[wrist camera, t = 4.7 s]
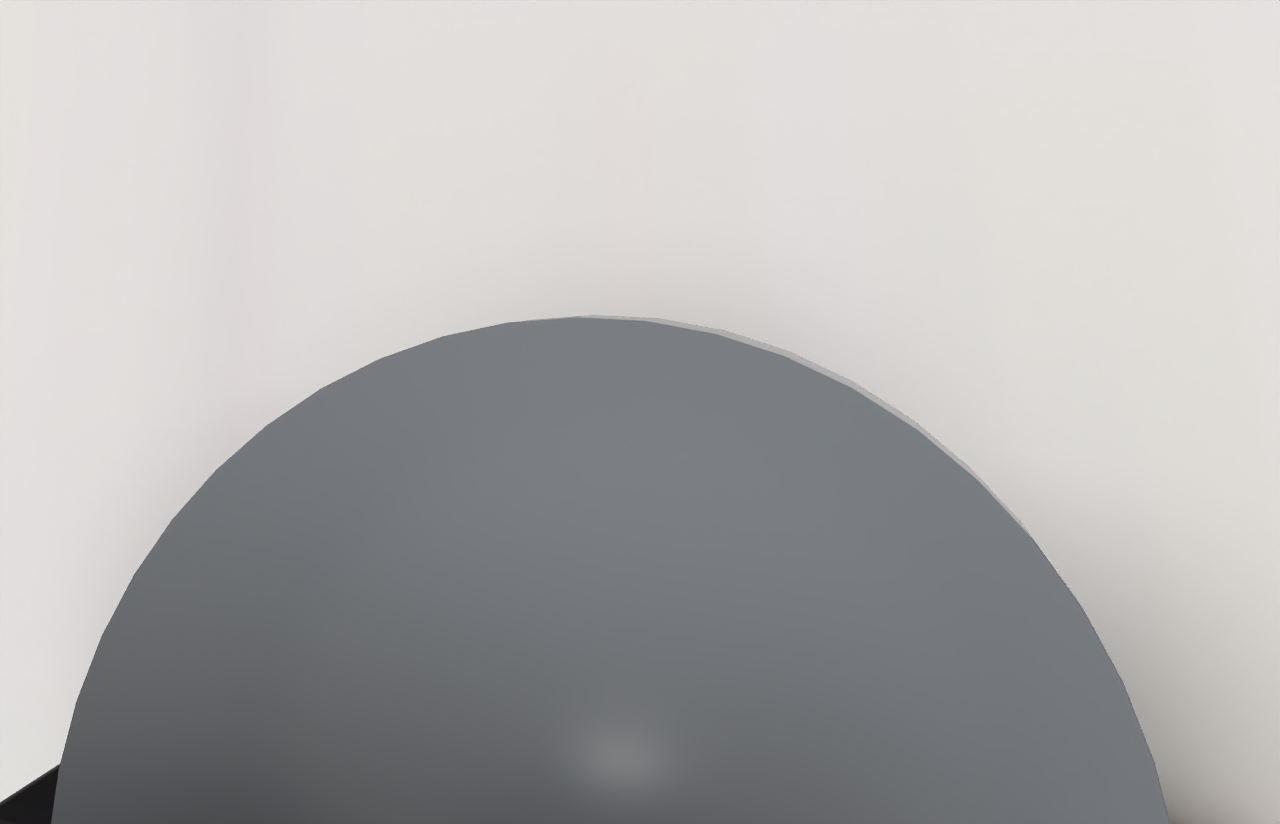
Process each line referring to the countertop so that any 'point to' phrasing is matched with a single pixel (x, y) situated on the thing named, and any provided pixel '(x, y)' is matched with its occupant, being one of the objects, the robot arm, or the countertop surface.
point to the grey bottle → (600, 610)
